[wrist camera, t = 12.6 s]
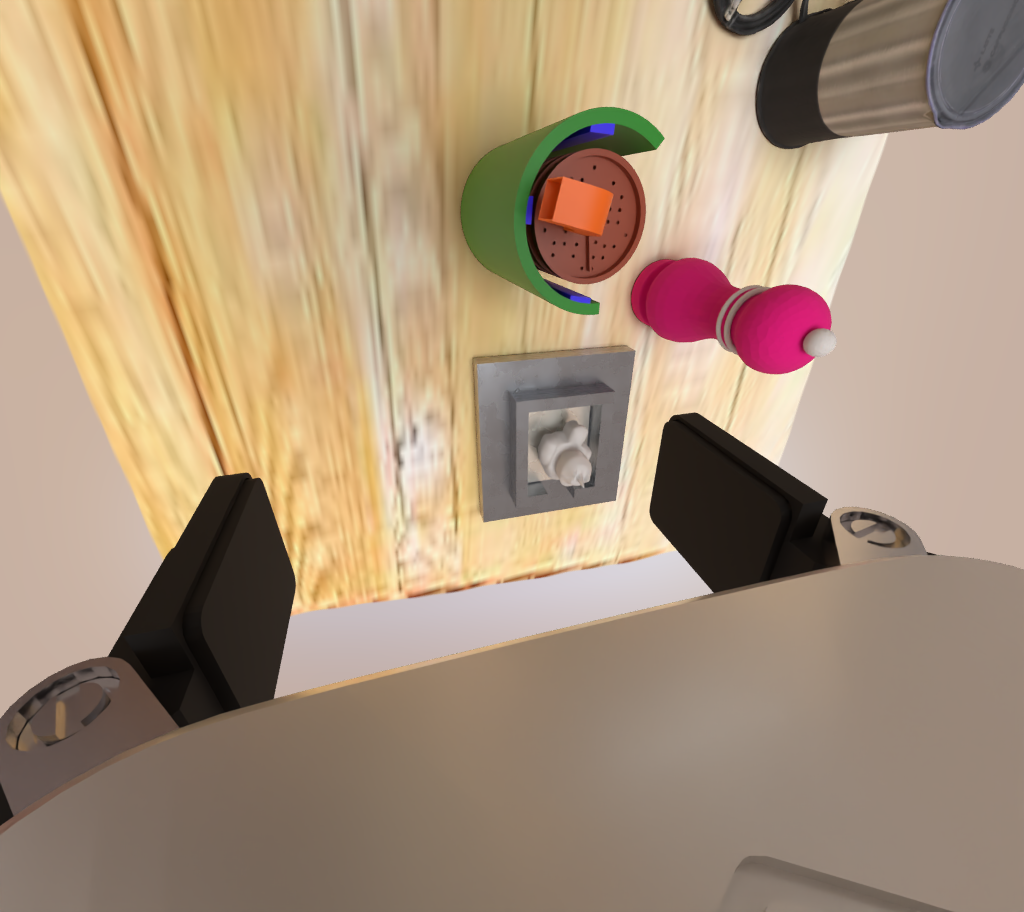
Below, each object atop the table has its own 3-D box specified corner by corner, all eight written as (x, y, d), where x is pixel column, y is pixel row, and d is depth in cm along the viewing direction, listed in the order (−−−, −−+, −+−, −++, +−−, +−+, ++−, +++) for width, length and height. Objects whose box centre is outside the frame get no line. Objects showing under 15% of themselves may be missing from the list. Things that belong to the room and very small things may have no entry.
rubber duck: (523, 462, 48) (548, 505, 41) (547, 405, 45) (577, 441, 38) (567, 472, 50) (597, 514, 43) (592, 418, 47) (628, 454, 41)
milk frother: (822, 155, 43) (1008, 135, 30) (676, 141, 39) (820, 111, 26) (888, -58, 36) (1163, -198, 23) (719, -102, 32) (941, -298, 20)
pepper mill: (611, 304, 44) (759, 366, 27) (659, 237, 42) (849, 258, 25) (659, 343, 48) (816, 419, 31) (705, 281, 46) (900, 327, 29)
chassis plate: (472, 358, 43) (482, 372, 39) (625, 345, 47) (648, 357, 43) (480, 511, 52) (488, 536, 48) (608, 491, 55) (625, 512, 52)
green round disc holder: (556, 280, 42) (680, 331, 25) (459, 277, 39) (524, 331, 23) (569, 148, 37) (735, 100, 20) (461, 135, 35) (544, 70, 18)
